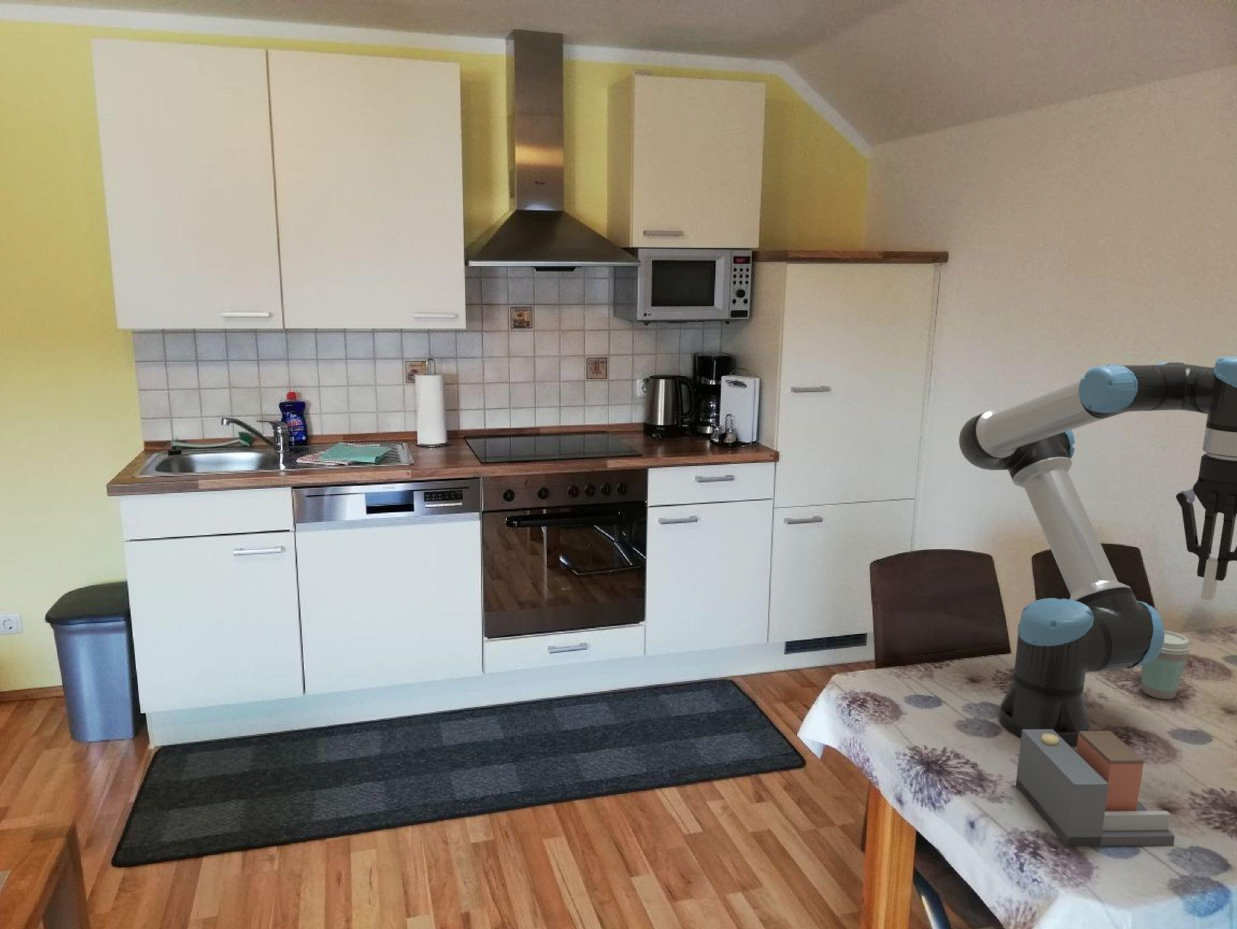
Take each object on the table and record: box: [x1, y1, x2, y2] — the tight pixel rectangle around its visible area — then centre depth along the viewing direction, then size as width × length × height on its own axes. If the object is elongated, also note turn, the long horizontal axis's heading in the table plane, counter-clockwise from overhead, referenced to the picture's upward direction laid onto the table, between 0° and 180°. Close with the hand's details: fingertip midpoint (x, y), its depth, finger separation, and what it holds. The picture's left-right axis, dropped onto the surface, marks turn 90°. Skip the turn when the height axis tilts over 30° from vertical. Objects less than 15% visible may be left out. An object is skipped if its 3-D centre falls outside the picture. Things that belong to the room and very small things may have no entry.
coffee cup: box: [1141, 629, 1192, 700], centre depth 181 cm, size 8×8×12 cm
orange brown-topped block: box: [1075, 730, 1145, 811], centre depth 139 cm, size 5×9×10 cm, turn 2°
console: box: [1015, 729, 1176, 847], centre depth 139 cm, size 16×16×11 cm
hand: (1207, 597), depth 148 cm, fingers closed
